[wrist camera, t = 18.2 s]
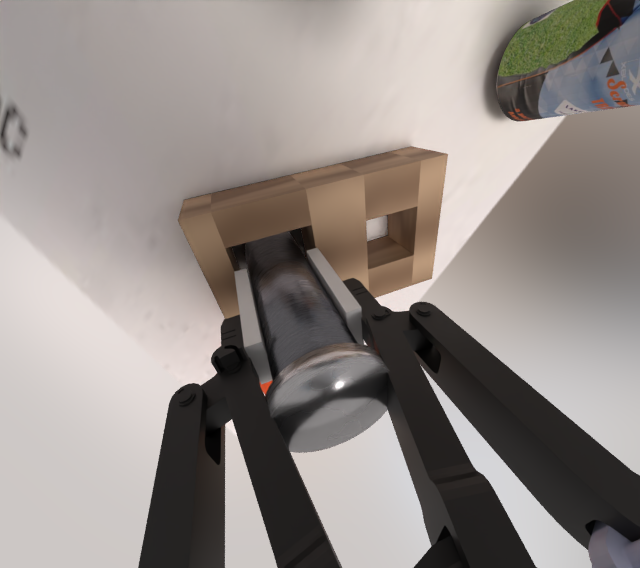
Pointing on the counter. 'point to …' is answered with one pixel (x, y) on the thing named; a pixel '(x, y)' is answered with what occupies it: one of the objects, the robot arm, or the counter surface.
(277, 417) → the grey capped cylinder
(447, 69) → the counter surface
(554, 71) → the beverage can
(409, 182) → the mount block
